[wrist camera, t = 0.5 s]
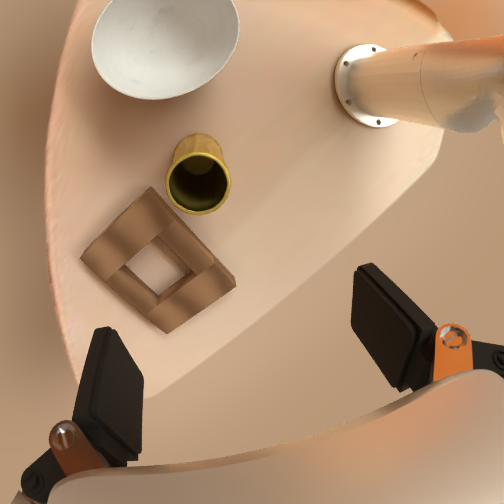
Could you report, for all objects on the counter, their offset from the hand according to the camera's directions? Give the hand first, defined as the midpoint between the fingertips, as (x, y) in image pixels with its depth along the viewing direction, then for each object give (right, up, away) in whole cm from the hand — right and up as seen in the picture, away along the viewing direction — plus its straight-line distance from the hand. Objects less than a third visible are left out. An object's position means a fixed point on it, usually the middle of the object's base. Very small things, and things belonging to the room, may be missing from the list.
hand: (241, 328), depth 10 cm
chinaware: (-10, +28, +17) cm, 34 cm away
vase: (-6, +15, +24) cm, 29 cm away
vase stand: (-13, +1, +30) cm, 33 cm away
